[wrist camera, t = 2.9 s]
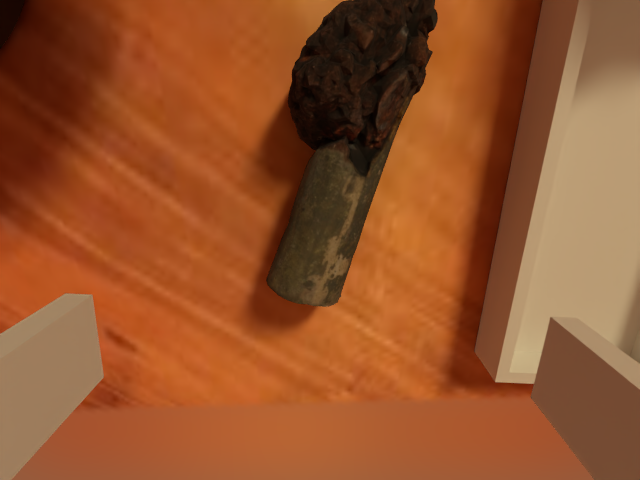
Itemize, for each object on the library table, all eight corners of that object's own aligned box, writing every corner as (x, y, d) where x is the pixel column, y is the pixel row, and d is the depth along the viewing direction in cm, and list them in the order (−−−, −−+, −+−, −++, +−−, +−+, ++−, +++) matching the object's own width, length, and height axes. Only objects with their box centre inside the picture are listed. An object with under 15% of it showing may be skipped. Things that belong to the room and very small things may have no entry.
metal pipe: (336, 287, 26) (343, 327, 20) (242, 258, 25) (224, 292, 20) (437, 16, 21) (481, -25, 16) (327, -28, 21) (333, -87, 15)
